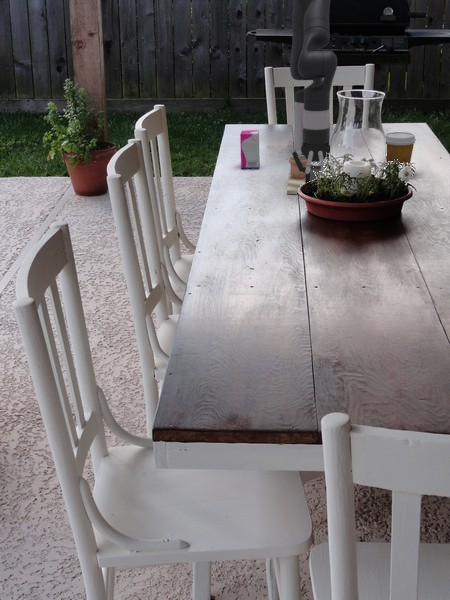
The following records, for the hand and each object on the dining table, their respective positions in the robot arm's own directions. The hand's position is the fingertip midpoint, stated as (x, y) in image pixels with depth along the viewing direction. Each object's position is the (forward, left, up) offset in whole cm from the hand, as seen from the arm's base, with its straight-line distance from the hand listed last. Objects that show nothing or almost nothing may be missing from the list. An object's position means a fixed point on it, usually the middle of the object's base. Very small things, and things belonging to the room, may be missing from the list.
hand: (315, 185), depth 228 cm
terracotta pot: (-12, -5, -1) cm, 13 cm away
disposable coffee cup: (-20, +25, -2) cm, 32 cm away
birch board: (-9, -3, -2) cm, 10 cm away
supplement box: (-28, -21, -2) cm, 35 cm away
